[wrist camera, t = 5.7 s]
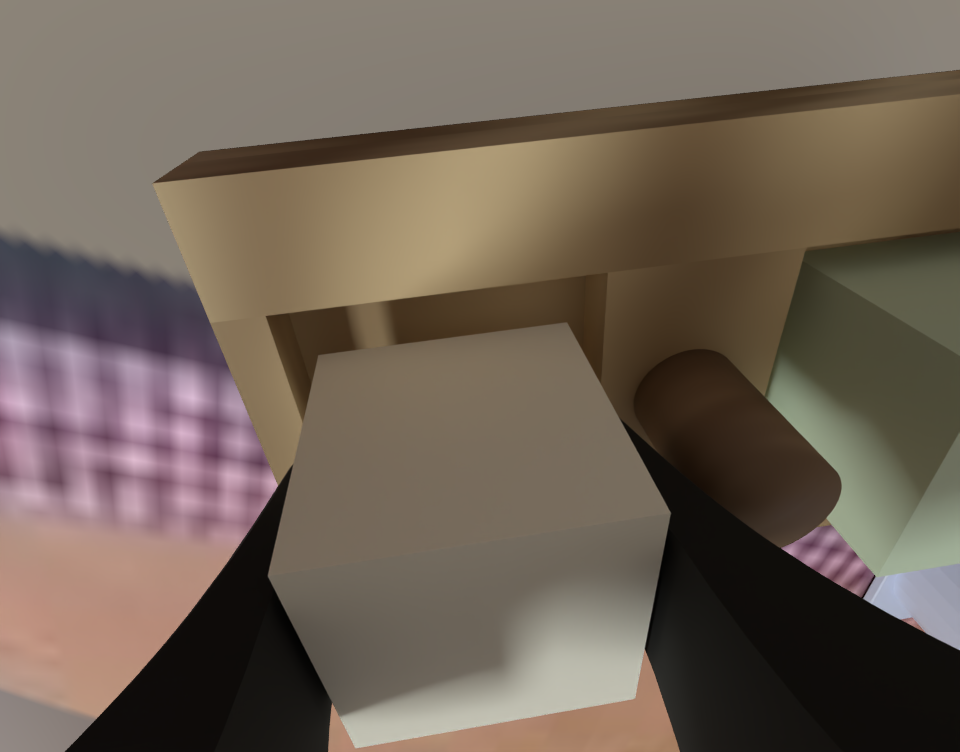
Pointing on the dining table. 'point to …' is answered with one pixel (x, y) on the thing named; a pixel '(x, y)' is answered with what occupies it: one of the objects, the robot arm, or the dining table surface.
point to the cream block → (467, 535)
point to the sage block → (881, 393)
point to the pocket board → (576, 255)
